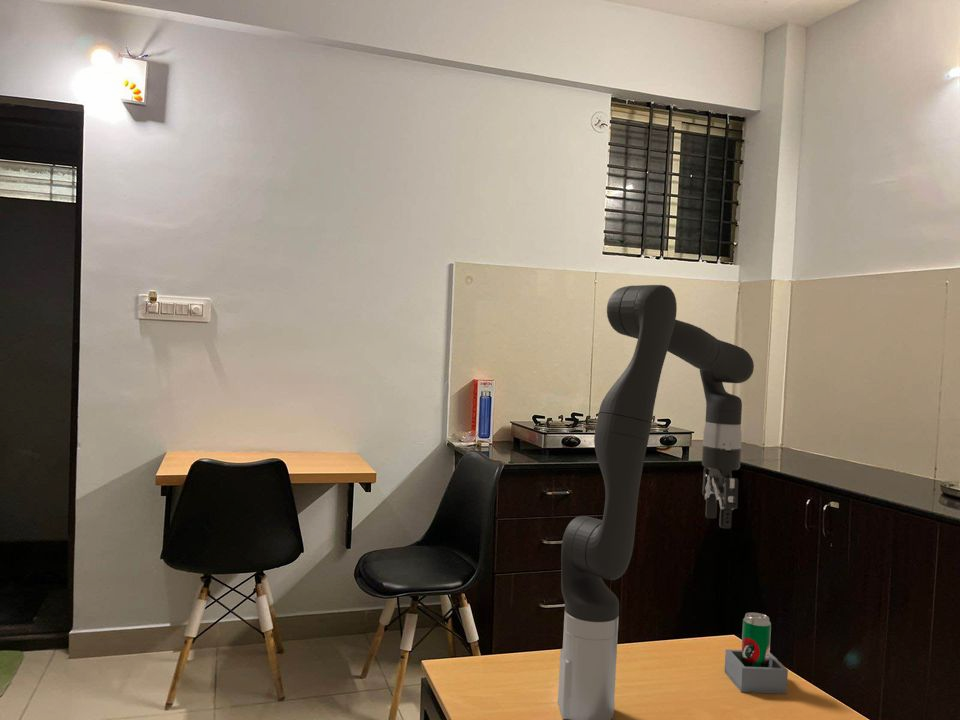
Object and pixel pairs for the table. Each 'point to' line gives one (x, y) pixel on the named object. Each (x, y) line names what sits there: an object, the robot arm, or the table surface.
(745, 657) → the soda can
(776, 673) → the grey hollow square box
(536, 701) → the table surface
